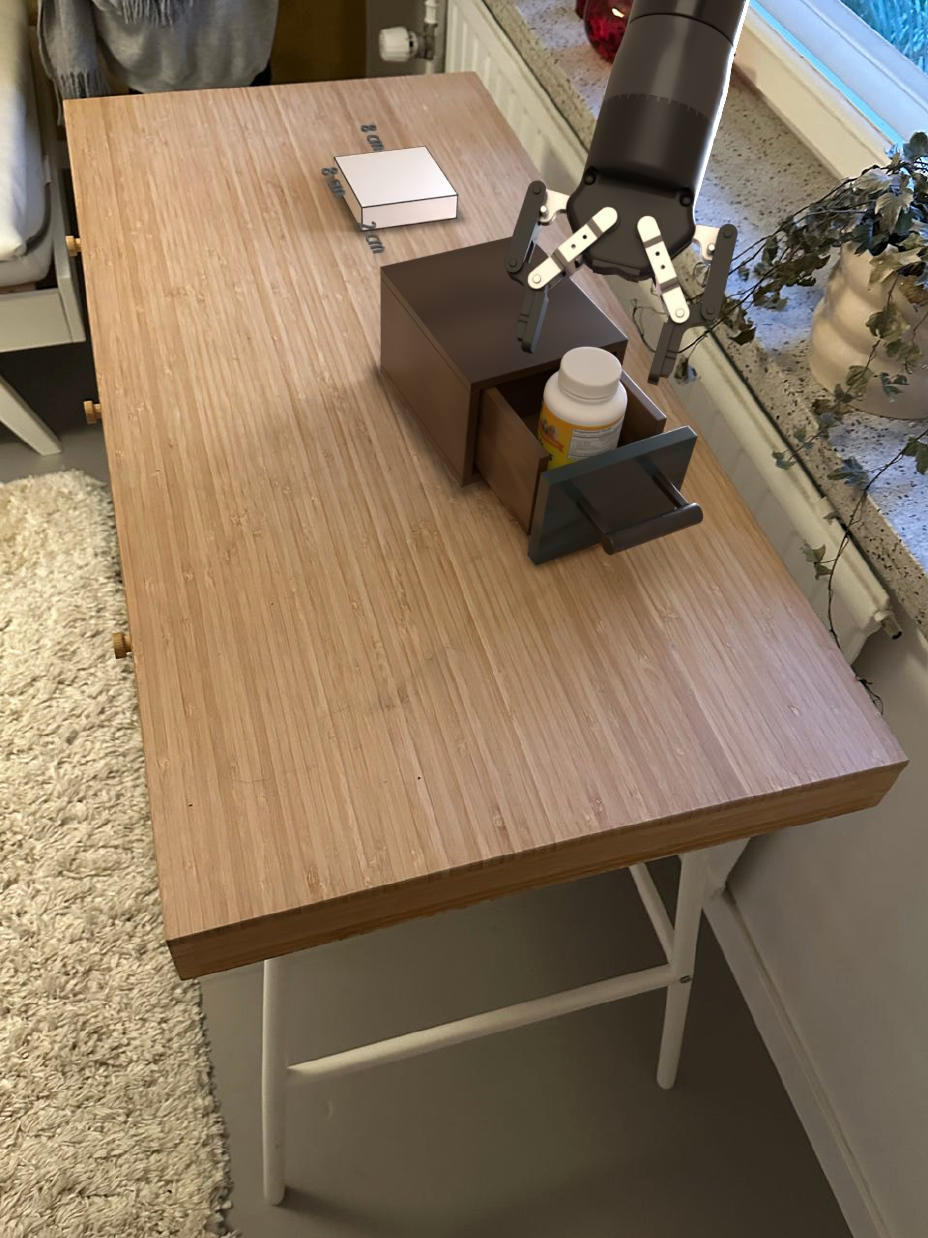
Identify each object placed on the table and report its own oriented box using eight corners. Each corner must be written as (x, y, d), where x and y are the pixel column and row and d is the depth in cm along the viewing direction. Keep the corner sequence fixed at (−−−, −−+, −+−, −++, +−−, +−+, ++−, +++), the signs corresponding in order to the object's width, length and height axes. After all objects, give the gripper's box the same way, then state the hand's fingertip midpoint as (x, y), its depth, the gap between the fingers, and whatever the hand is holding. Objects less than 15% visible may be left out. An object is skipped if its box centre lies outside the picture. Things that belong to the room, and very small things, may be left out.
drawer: (710, 563, 71) (741, 481, 65) (570, 616, 67) (589, 535, 61) (575, 404, 80) (591, 321, 74) (446, 443, 77) (452, 358, 71)
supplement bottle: (527, 452, 75) (545, 336, 67) (602, 454, 75) (628, 338, 67) (533, 506, 72) (552, 391, 64) (611, 508, 72) (640, 393, 64)
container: (476, 248, 95) (478, 221, 93) (358, 265, 92) (357, 238, 90) (408, 143, 106) (409, 117, 104) (301, 156, 103) (299, 129, 101)
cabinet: (605, 441, 79) (628, 338, 72) (461, 487, 75) (470, 383, 68) (514, 335, 87) (527, 232, 80) (380, 371, 83) (379, 266, 75)
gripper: (546, 67, 62) (477, 330, 64) (778, 115, 60) (699, 385, 62) (556, 116, 70) (494, 351, 72) (762, 160, 68) (692, 400, 70)
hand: (589, 366), depth 67 cm, fingers open, 8 cm apart
